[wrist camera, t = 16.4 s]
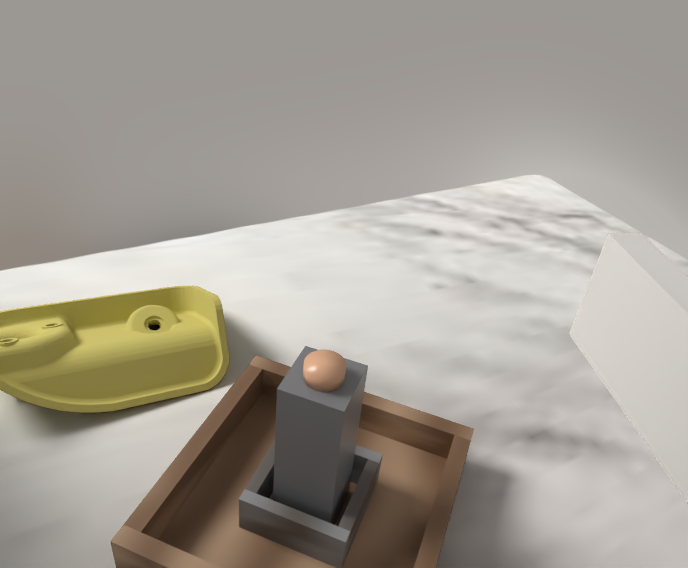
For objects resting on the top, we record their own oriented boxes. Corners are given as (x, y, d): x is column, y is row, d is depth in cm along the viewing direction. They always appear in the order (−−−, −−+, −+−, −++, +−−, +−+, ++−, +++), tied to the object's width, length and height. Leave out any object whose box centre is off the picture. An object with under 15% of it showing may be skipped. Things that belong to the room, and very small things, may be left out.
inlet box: (117, 574, 37) (109, 538, 35) (255, 386, 52) (256, 352, 49) (396, 704, 33) (407, 672, 31) (464, 459, 47) (474, 426, 45)
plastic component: (192, 283, 59) (225, 298, 50) (200, 357, 60) (233, 384, 52) (-48, 317, 50) (-60, 342, 41) (-33, 403, 51) (-41, 445, 42)
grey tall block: (272, 518, 41) (277, 375, 33) (296, 472, 44) (306, 333, 36) (328, 540, 40) (346, 398, 32) (348, 492, 43) (369, 352, 35)
